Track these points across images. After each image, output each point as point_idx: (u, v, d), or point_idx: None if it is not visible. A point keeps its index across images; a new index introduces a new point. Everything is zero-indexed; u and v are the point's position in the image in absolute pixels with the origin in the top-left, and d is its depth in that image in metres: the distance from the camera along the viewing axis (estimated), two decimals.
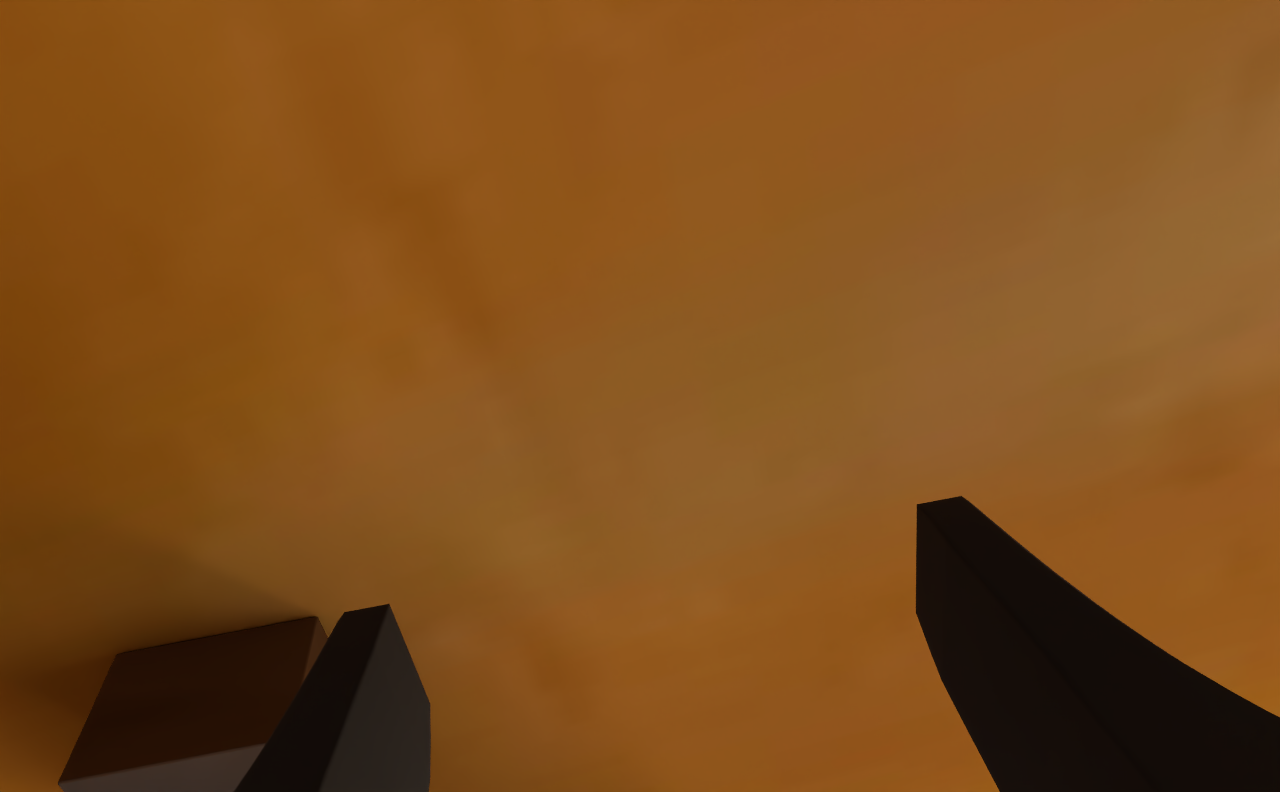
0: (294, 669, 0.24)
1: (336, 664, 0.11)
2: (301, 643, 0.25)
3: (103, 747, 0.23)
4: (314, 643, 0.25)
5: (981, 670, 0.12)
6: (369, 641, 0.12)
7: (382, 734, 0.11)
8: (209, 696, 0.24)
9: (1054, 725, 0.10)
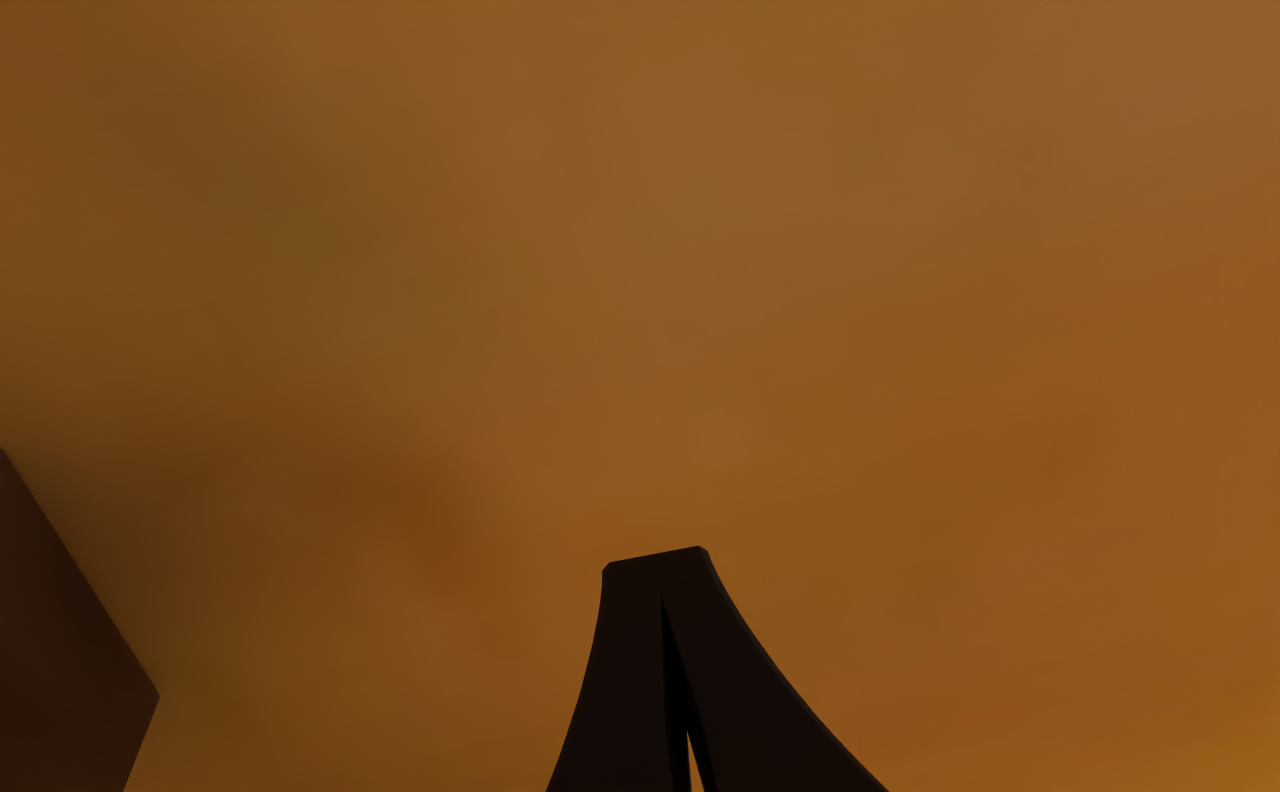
0: None
1: (628, 609, 0.11)
2: None
3: None
4: None
5: (693, 725, 0.11)
6: (652, 588, 0.12)
7: (672, 679, 0.12)
8: None
9: (715, 790, 0.10)
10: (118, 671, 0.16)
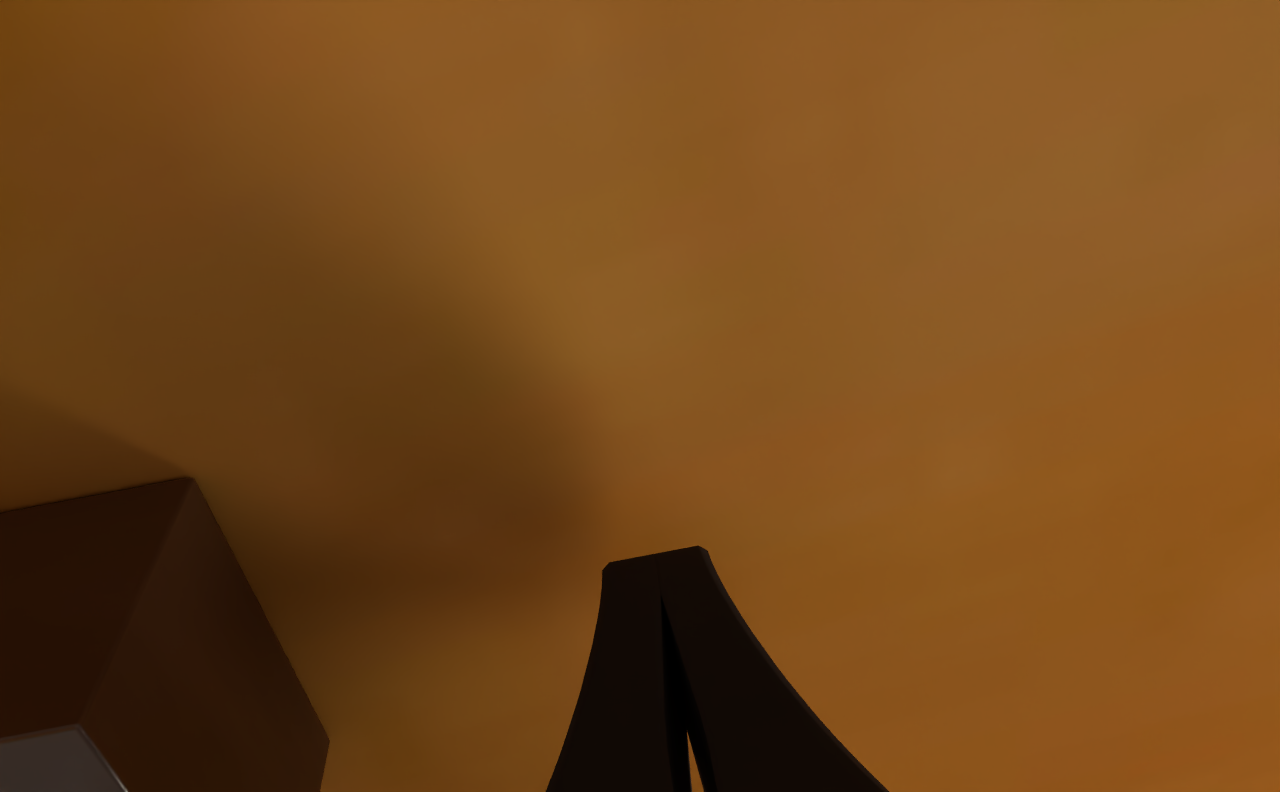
0: (126, 574, 0.11)
1: (628, 609, 0.11)
2: (151, 524, 0.12)
3: None
4: (180, 526, 0.12)
5: (693, 725, 0.11)
6: (652, 588, 0.12)
7: (671, 679, 0.12)
8: None
9: (715, 790, 0.10)
10: (297, 717, 0.14)
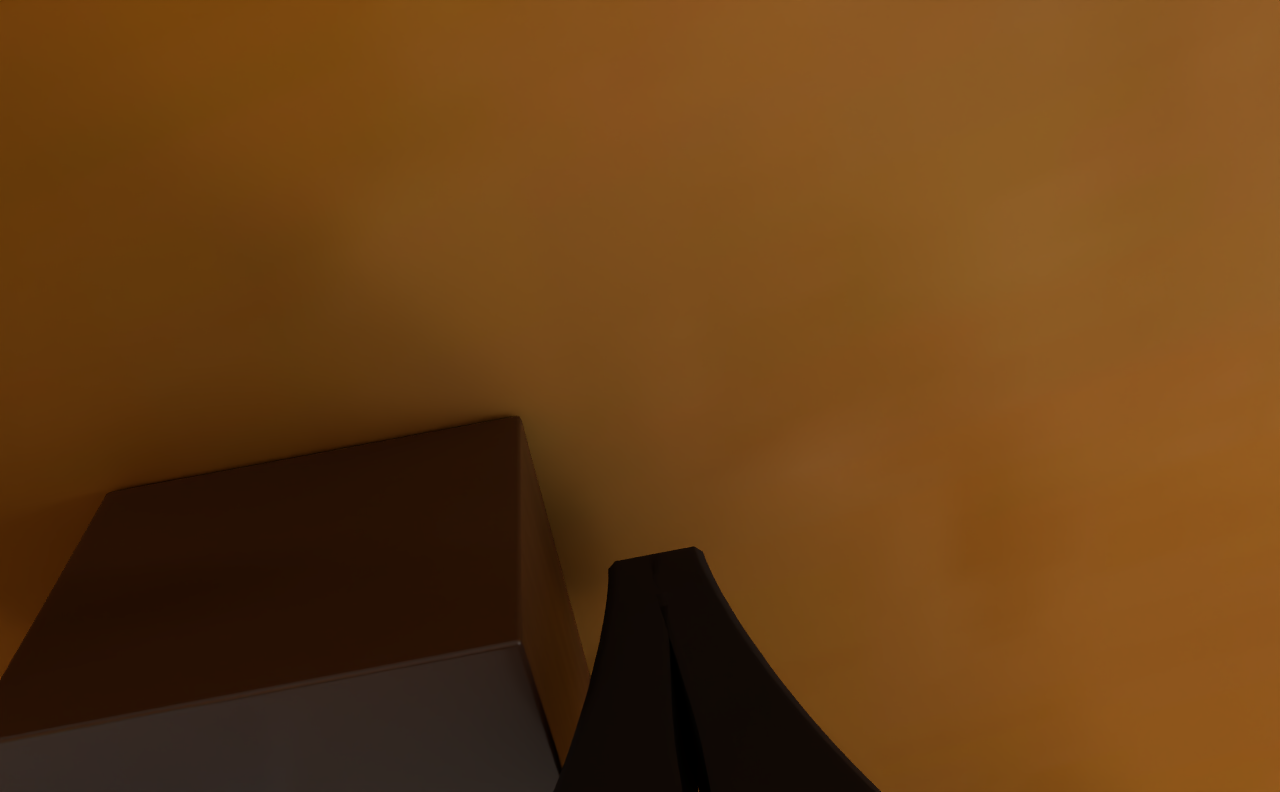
0: (497, 504, 0.11)
1: (635, 607, 0.11)
2: (498, 459, 0.12)
3: (75, 666, 0.10)
4: (523, 461, 0.12)
5: (688, 727, 0.11)
6: (658, 586, 0.12)
7: None
8: (312, 558, 0.11)
9: None
10: (581, 663, 0.15)
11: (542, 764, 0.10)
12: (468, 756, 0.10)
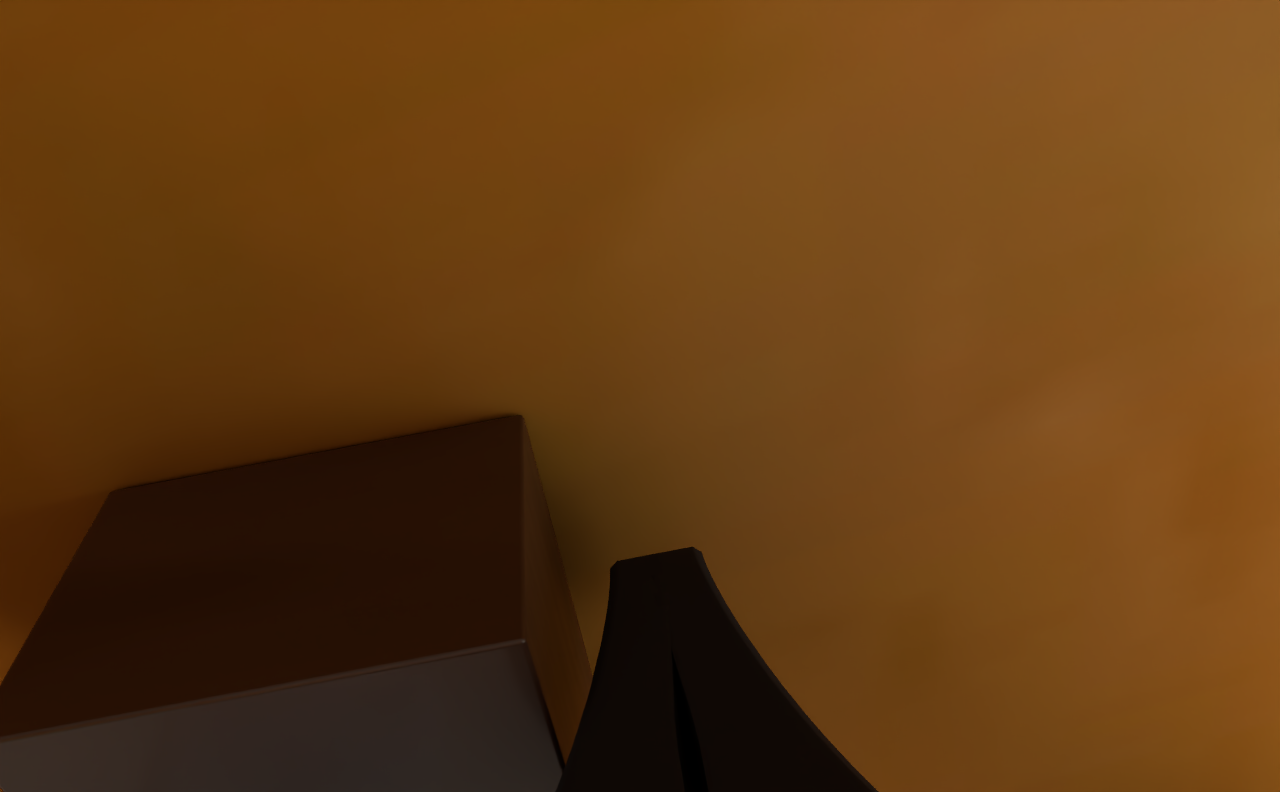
0: (500, 502, 0.11)
1: (636, 607, 0.11)
2: (501, 458, 0.12)
3: (78, 665, 0.10)
4: (526, 460, 0.12)
5: (686, 727, 0.11)
6: (660, 586, 0.12)
7: None
8: (315, 556, 0.11)
9: None
10: (583, 662, 0.15)
11: (546, 763, 0.10)
12: (472, 755, 0.10)
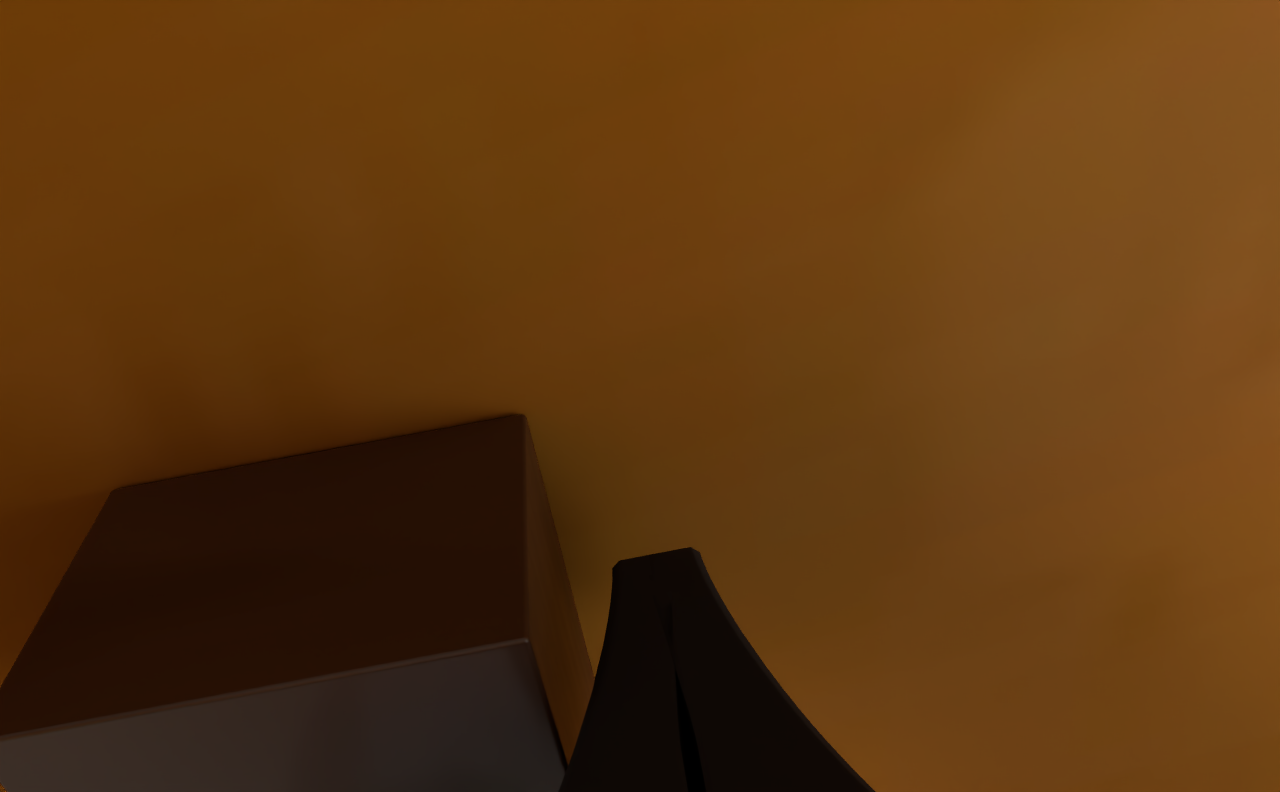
0: (502, 501, 0.11)
1: (639, 607, 0.11)
2: (504, 457, 0.12)
3: (81, 663, 0.10)
4: (528, 459, 0.12)
5: None
6: (662, 586, 0.12)
7: None
8: (318, 555, 0.11)
9: None
10: (585, 661, 0.15)
11: (549, 763, 0.10)
12: (475, 754, 0.10)
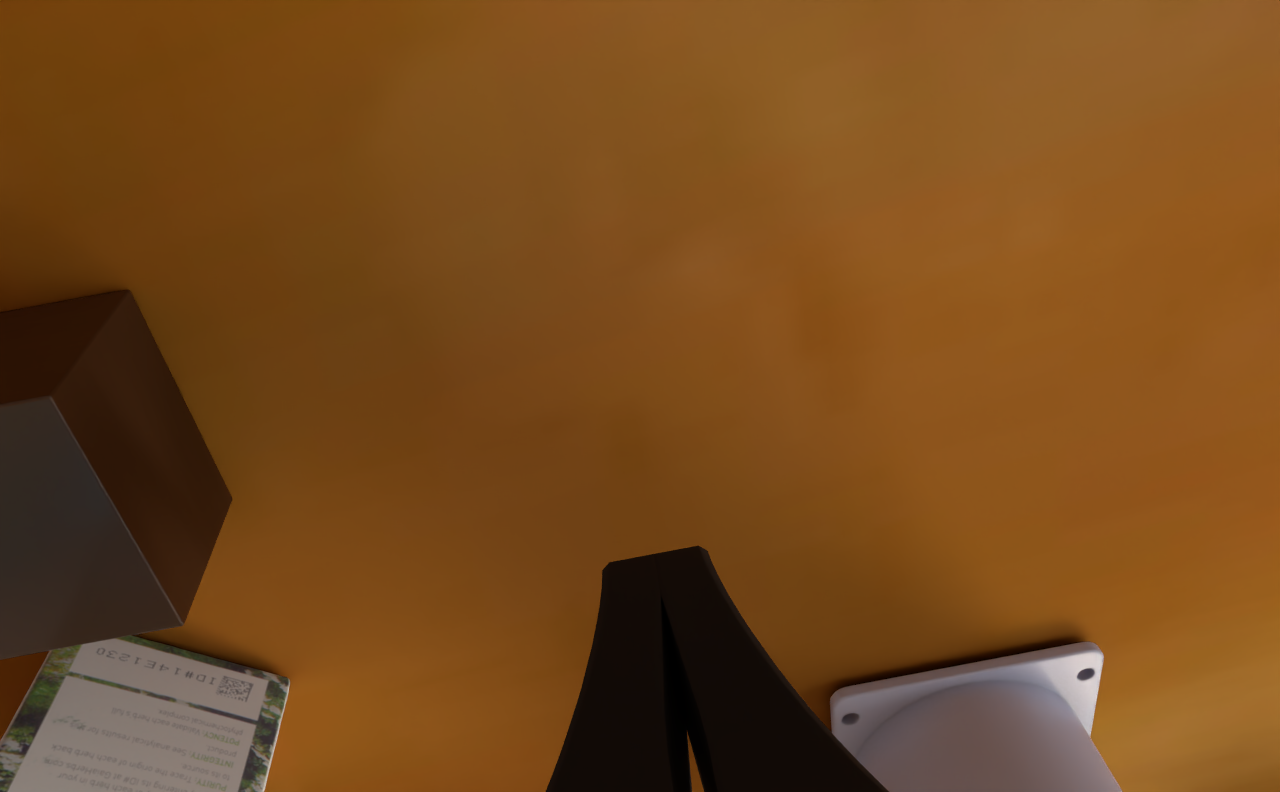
0: (82, 334, 0.18)
1: (628, 609, 0.11)
2: (100, 312, 0.19)
3: None
4: (119, 315, 0.19)
5: (692, 725, 0.11)
6: (652, 588, 0.12)
7: (671, 679, 0.12)
8: None
9: (715, 790, 0.10)
10: (205, 469, 0.21)
11: (91, 485, 0.17)
12: (40, 477, 0.17)
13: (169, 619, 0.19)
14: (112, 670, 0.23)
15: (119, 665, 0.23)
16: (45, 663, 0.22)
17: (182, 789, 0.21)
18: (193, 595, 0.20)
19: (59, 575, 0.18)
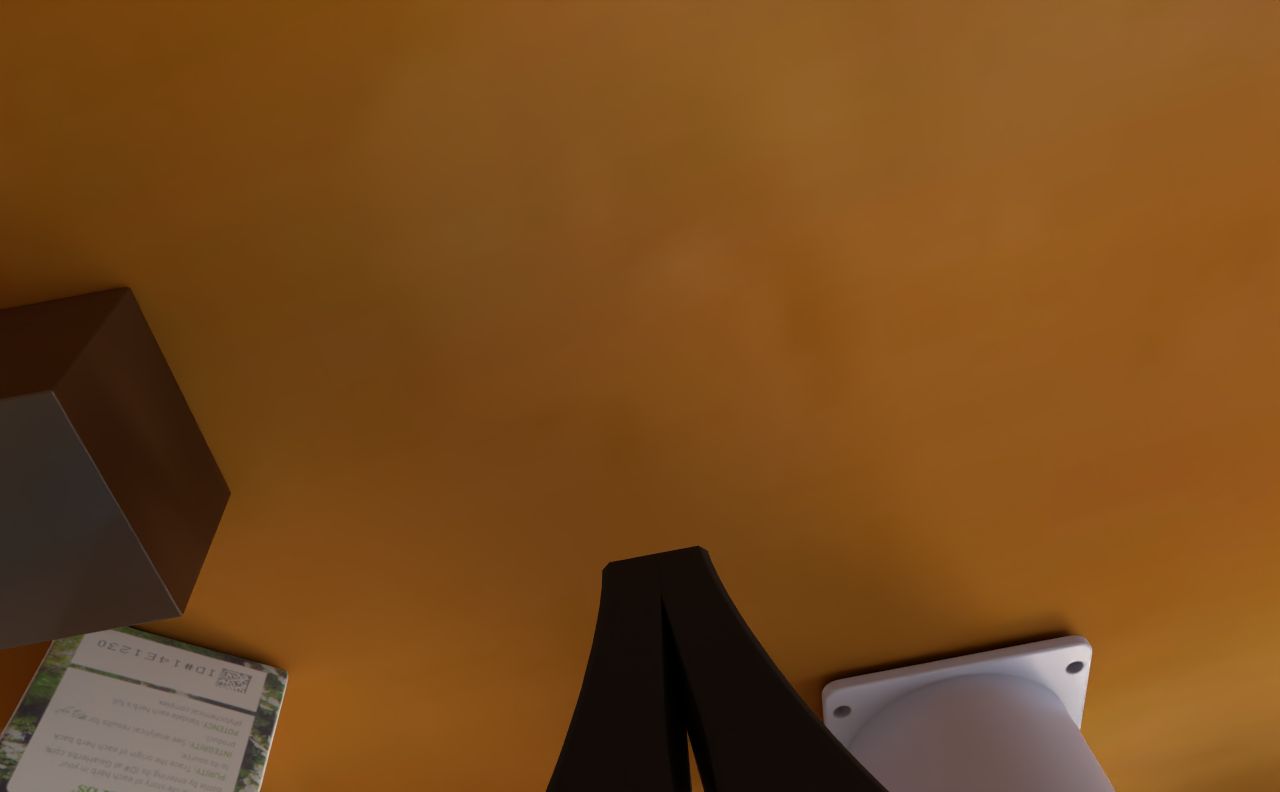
0: (83, 330, 0.18)
1: (628, 609, 0.11)
2: (100, 309, 0.19)
3: None
4: (119, 312, 0.19)
5: (693, 725, 0.11)
6: (652, 588, 0.12)
7: (671, 679, 0.12)
8: None
9: (715, 790, 0.10)
10: (204, 464, 0.22)
11: (91, 477, 0.17)
12: (42, 469, 0.17)
13: (168, 609, 0.19)
14: (112, 662, 0.23)
15: (120, 657, 0.23)
16: (47, 655, 0.23)
17: (182, 778, 0.22)
18: (192, 586, 0.20)
19: (61, 566, 0.18)
